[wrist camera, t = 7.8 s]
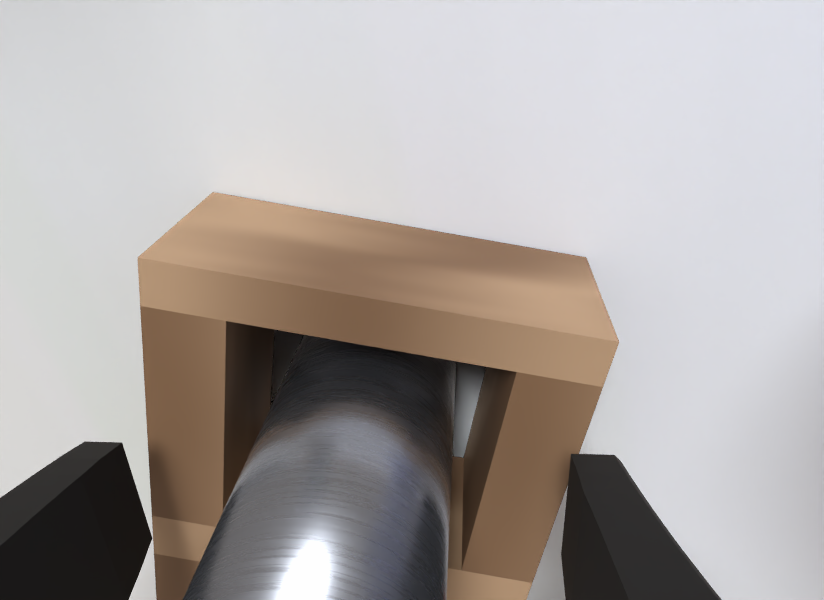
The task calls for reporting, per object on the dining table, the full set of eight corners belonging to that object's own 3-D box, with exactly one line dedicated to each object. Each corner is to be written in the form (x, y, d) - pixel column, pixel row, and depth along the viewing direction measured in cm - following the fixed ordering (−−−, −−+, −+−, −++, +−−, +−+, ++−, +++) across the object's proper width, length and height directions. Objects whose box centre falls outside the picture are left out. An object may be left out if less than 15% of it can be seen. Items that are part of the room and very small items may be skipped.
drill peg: (469, 305, 12) (467, 636, 6) (441, 431, 14) (416, 800, 8) (308, 276, 12) (148, 581, 6) (297, 406, 14) (159, 755, 8)
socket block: (586, 257, 12) (618, 341, 9) (471, 629, 17) (471, 752, 14) (212, 192, 12) (136, 258, 9) (211, 582, 17) (162, 697, 14)
